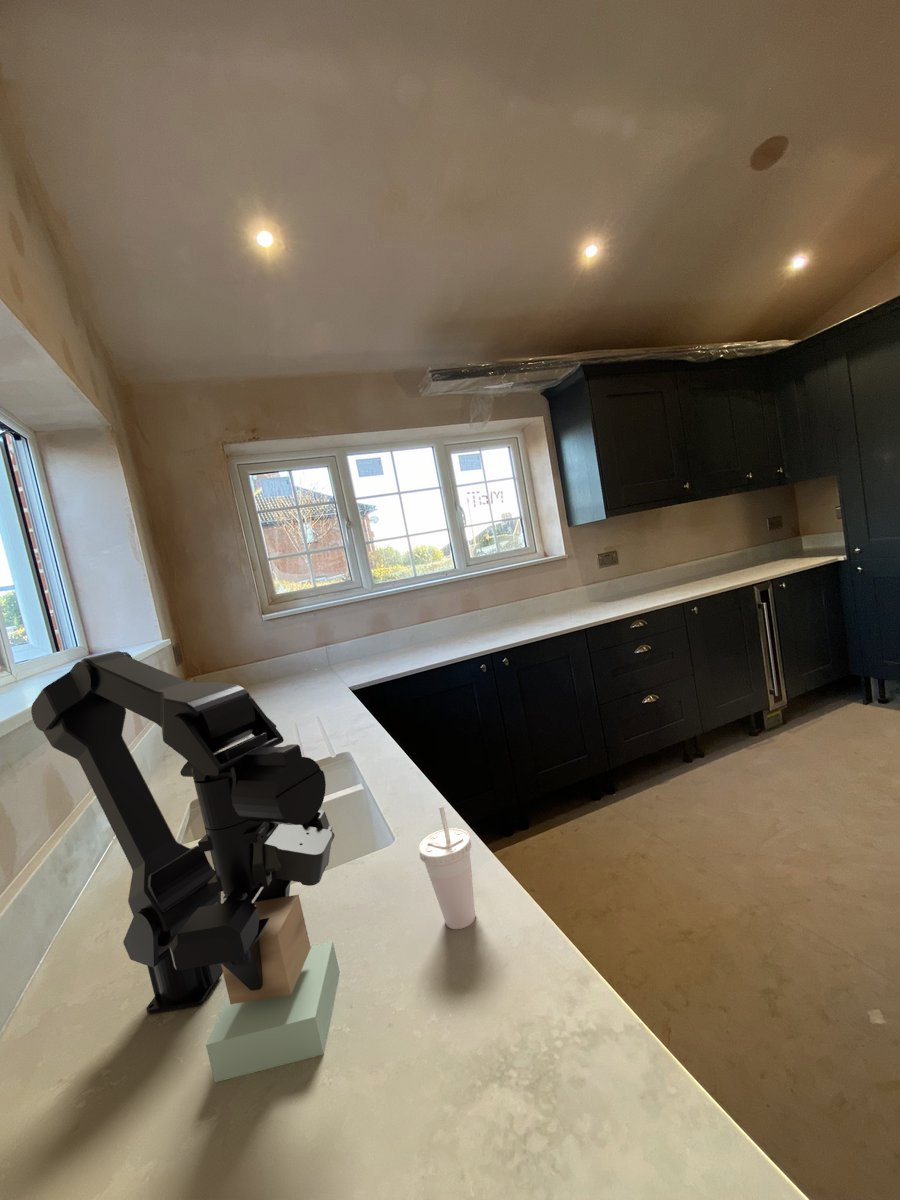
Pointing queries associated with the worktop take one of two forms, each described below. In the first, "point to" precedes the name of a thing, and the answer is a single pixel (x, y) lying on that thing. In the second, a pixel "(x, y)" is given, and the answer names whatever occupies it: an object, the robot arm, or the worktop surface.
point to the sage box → (277, 1022)
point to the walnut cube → (276, 951)
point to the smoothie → (450, 872)
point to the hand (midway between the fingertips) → (269, 963)
